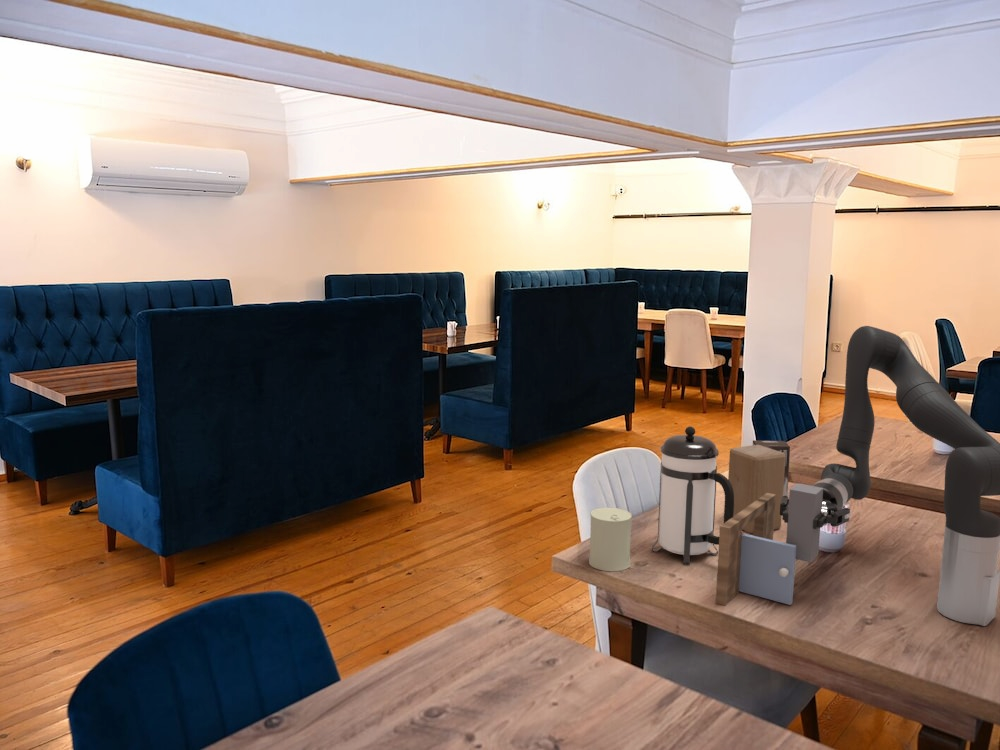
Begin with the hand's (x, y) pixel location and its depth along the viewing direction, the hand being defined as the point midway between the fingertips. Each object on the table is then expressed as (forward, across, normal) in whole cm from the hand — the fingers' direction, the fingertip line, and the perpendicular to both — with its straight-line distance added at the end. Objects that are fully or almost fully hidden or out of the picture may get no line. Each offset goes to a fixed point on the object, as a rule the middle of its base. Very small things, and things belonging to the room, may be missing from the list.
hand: (800, 521), depth 156 cm
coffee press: (-10, -27, +17) cm, 34 cm away
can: (+6, -39, +17) cm, 43 cm away
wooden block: (-38, -22, +18) cm, 47 cm away
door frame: (-3, -11, +17) cm, 21 cm away
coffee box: (-63, -27, +18) cm, 71 cm away
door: (+3, -6, +17) cm, 18 cm away
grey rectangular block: (-3, 0, +8) cm, 8 cm away
